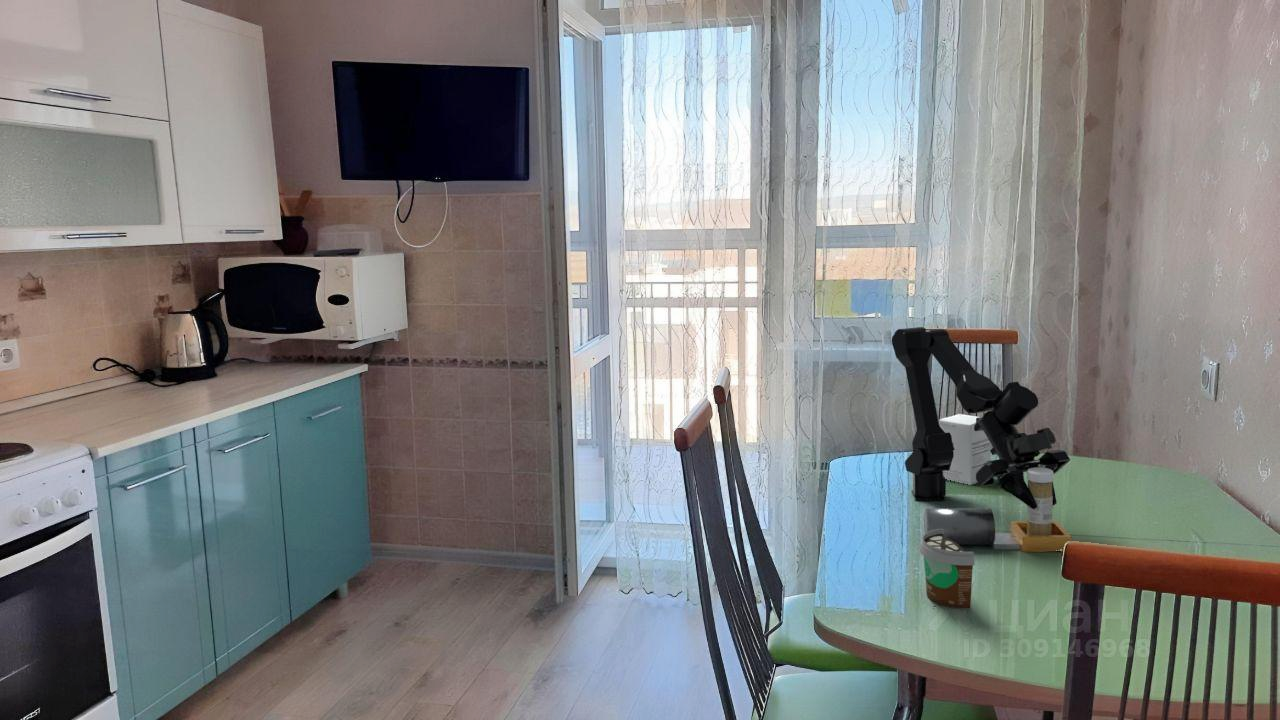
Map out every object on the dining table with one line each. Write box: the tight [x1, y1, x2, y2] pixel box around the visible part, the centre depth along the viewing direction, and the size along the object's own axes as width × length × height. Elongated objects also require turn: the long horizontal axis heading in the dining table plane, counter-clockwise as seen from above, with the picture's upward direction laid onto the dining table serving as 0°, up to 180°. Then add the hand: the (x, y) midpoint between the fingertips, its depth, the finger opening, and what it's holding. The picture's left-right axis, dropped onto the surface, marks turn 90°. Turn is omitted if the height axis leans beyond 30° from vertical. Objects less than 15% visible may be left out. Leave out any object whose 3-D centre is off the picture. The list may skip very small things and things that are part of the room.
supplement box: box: [938, 413, 992, 486], centre depth 211 cm, size 9×9×15 cm
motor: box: [923, 507, 1072, 553], centre depth 168 cm, size 25×9×7 cm, turn 81°
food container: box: [918, 529, 975, 610], centre depth 145 cm, size 12×6×10 cm, turn 5°
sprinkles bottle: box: [1026, 467, 1054, 535], centre depth 167 cm, size 5×5×13 cm
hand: (1045, 506), depth 165 cm, fingers closed on sprinkles bottle, 4 cm apart
